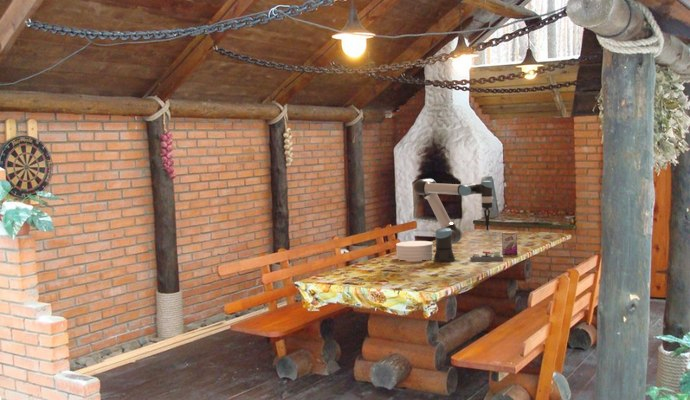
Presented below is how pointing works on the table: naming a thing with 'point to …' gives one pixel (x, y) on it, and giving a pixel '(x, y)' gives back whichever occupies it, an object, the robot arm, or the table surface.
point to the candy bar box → (509, 242)
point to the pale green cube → (497, 253)
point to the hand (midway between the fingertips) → (487, 234)
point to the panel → (486, 258)
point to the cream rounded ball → (475, 254)
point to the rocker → (486, 252)
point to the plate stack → (415, 250)
